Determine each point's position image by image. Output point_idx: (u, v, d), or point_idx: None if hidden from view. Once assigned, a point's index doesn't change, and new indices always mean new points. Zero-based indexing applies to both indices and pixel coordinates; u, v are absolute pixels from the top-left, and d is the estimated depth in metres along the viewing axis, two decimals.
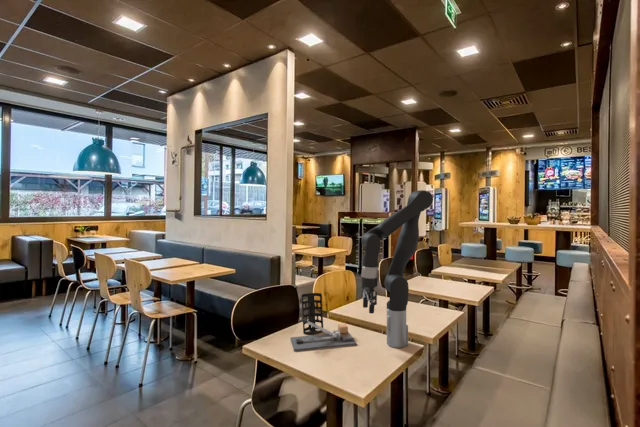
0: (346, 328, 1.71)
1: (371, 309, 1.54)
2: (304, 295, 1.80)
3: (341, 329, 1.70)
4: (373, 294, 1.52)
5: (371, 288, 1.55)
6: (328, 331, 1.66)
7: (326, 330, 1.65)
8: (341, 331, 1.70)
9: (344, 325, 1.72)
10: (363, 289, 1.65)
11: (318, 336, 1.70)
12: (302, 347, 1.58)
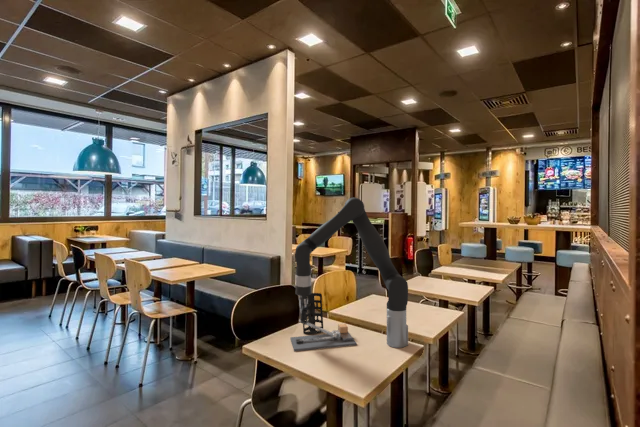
0: (346, 328, 1.71)
1: (302, 316, 1.62)
2: None
3: (341, 329, 1.70)
4: (304, 307, 1.57)
5: (304, 296, 1.59)
6: (328, 331, 1.65)
7: (326, 330, 1.65)
8: (341, 331, 1.70)
9: (344, 325, 1.72)
10: None
11: (318, 336, 1.70)
12: (302, 347, 1.58)
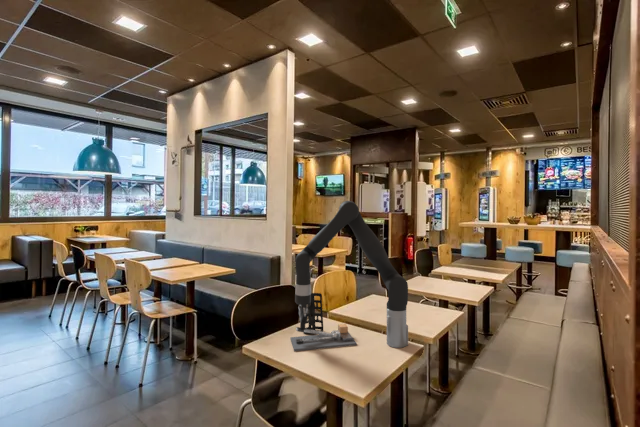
0: (346, 328, 1.71)
1: (302, 325, 1.62)
2: None
3: (341, 329, 1.70)
4: (303, 316, 1.58)
5: (303, 305, 1.59)
6: (327, 333, 1.65)
7: (325, 333, 1.65)
8: (341, 331, 1.70)
9: (344, 325, 1.72)
10: None
11: (318, 336, 1.70)
12: (302, 347, 1.58)
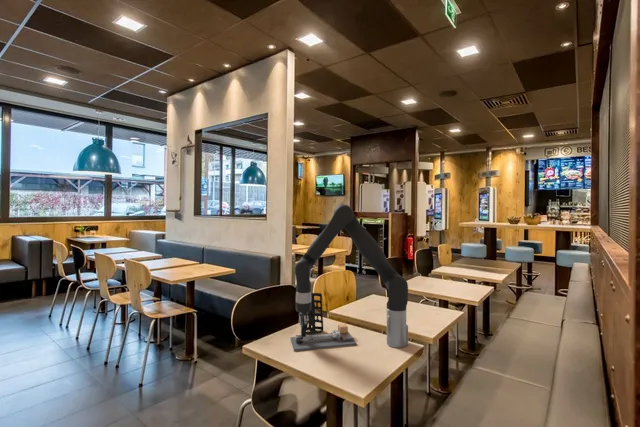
0: (346, 328, 1.71)
1: (302, 333, 1.62)
2: None
3: (341, 329, 1.70)
4: (304, 324, 1.58)
5: (304, 313, 1.60)
6: (326, 335, 1.65)
7: (324, 335, 1.65)
8: (341, 331, 1.70)
9: (344, 325, 1.72)
10: None
11: None
12: (302, 347, 1.58)
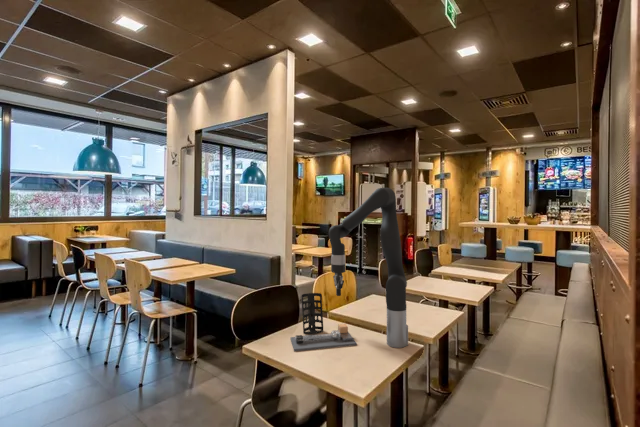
0: (346, 328, 1.71)
1: (338, 292, 1.78)
2: (304, 295, 1.80)
3: (341, 329, 1.70)
4: (340, 283, 1.73)
5: (339, 273, 1.75)
6: (326, 335, 1.65)
7: (324, 335, 1.65)
8: (341, 331, 1.70)
9: (344, 325, 1.72)
10: (335, 278, 1.83)
11: None
12: (302, 347, 1.58)
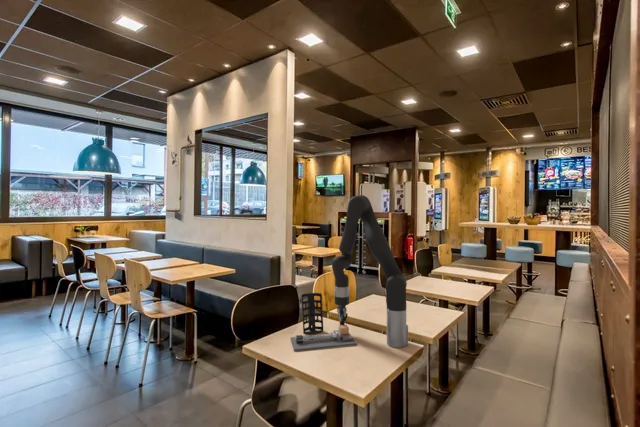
0: (347, 329, 1.69)
1: None
2: (304, 295, 1.80)
3: (342, 330, 1.69)
4: (344, 316, 1.69)
5: (343, 306, 1.71)
6: (326, 335, 1.65)
7: (324, 335, 1.65)
8: (342, 332, 1.69)
9: (345, 326, 1.71)
10: None
11: None
12: (302, 347, 1.58)
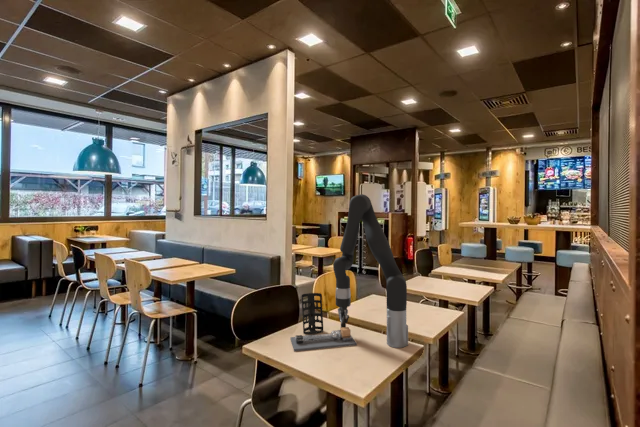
0: (349, 331, 1.66)
1: None
2: (304, 295, 1.80)
3: (343, 332, 1.66)
4: (345, 318, 1.66)
5: (344, 308, 1.68)
6: (326, 335, 1.65)
7: (324, 335, 1.65)
8: (343, 334, 1.66)
9: (346, 328, 1.68)
10: (339, 311, 1.76)
11: None
12: (302, 347, 1.58)
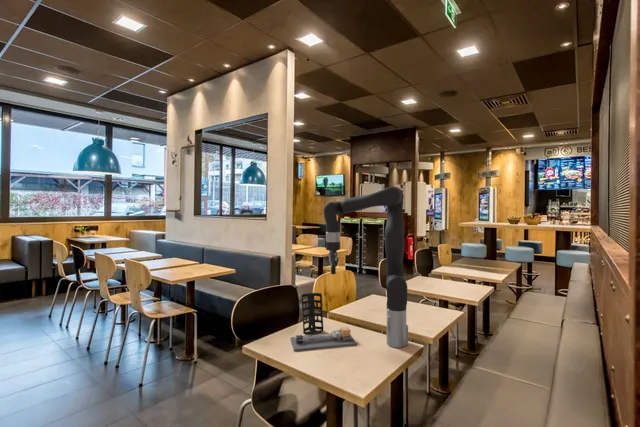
0: (349, 331, 1.66)
1: (333, 270, 1.74)
2: (304, 295, 1.80)
3: (343, 332, 1.66)
4: (335, 260, 1.70)
5: (334, 251, 1.72)
6: (326, 335, 1.65)
7: (324, 335, 1.65)
8: (343, 334, 1.66)
9: (346, 328, 1.68)
10: (329, 257, 1.80)
11: None
12: (302, 347, 1.58)
